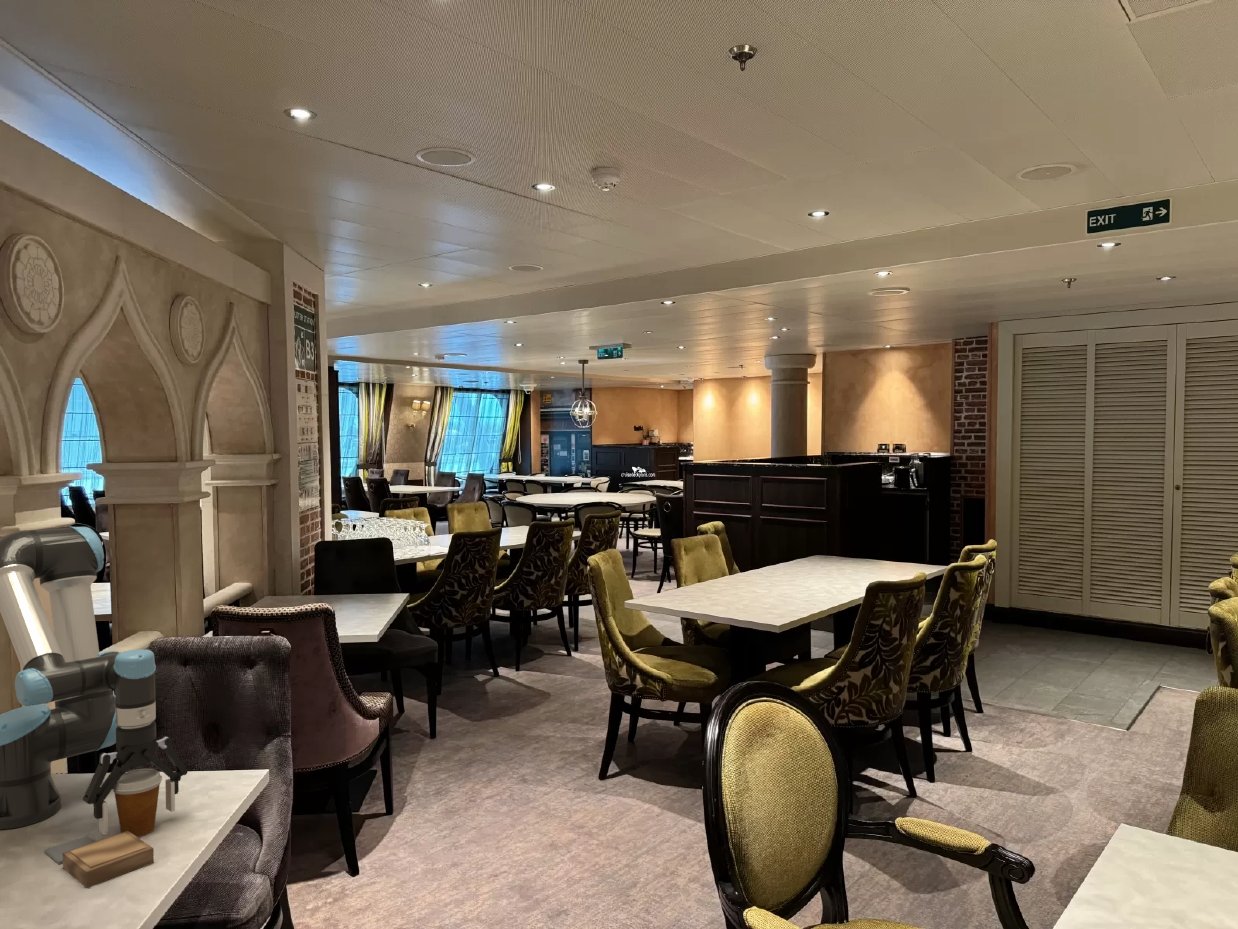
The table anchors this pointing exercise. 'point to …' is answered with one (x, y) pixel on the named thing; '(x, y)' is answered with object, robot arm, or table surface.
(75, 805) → the table surface
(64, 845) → the slate coaster
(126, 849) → the walnut base
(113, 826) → the table surface
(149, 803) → the disposable coffee cup
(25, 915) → the table surface
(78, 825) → the table surface
